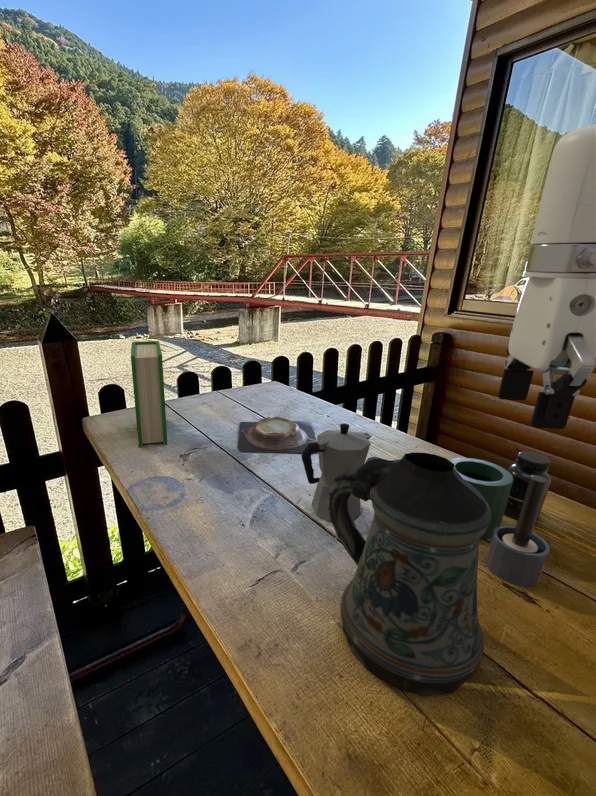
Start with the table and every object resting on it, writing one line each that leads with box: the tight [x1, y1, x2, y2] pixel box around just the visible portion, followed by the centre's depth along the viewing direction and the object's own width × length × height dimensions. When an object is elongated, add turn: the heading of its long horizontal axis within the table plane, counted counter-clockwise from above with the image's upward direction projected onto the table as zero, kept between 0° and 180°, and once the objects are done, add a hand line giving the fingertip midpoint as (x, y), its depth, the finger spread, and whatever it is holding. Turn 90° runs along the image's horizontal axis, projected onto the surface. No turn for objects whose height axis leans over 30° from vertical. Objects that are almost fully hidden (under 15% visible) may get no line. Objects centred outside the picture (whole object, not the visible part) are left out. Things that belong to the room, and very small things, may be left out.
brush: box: [502, 475, 548, 554], centre depth 61 cm, size 4×4×16 cm
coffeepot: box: [301, 423, 373, 523], centre depth 76 cm, size 15×9×18 cm, turn 115°
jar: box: [448, 457, 513, 540], centre depth 73 cm, size 10×10×11 cm
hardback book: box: [130, 340, 168, 448], centre depth 110 cm, size 18×7×24 cm, turn 11°
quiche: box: [237, 416, 317, 454], centre depth 111 cm, size 21×20×4 cm
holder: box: [485, 525, 551, 587], centre depth 63 cm, size 7×7×6 cm
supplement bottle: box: [503, 451, 552, 521], centre depth 76 cm, size 7×7×12 cm
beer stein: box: [328, 452, 491, 697], centre depth 49 cm, size 16×19×25 cm
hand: (527, 412), depth 50 cm, fingers open, 9 cm apart
